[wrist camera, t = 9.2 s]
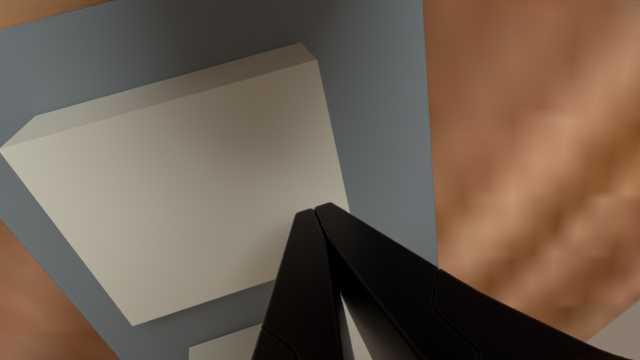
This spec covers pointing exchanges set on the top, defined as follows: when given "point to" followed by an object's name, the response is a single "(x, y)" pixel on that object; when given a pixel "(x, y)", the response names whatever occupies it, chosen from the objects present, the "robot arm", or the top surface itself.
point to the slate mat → (207, 51)
